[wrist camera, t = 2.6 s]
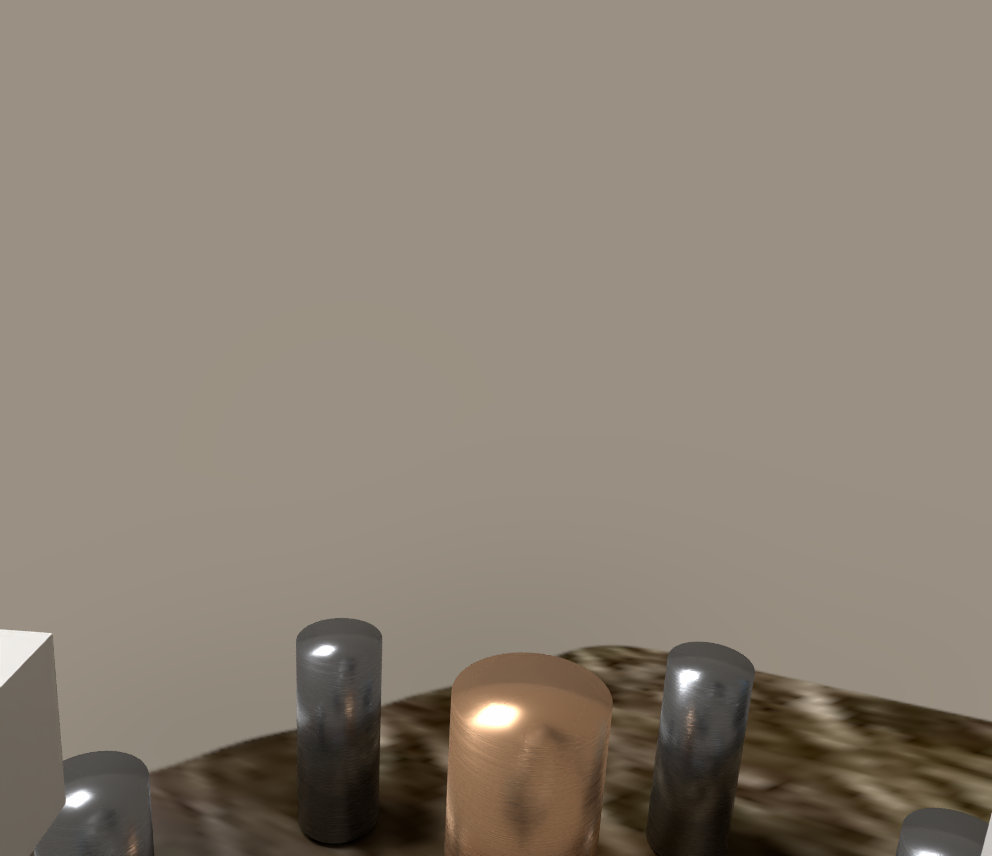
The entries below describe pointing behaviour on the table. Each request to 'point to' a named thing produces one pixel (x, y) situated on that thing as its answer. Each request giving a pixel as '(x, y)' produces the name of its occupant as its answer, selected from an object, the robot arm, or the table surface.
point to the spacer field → (356, 757)
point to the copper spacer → (526, 758)
